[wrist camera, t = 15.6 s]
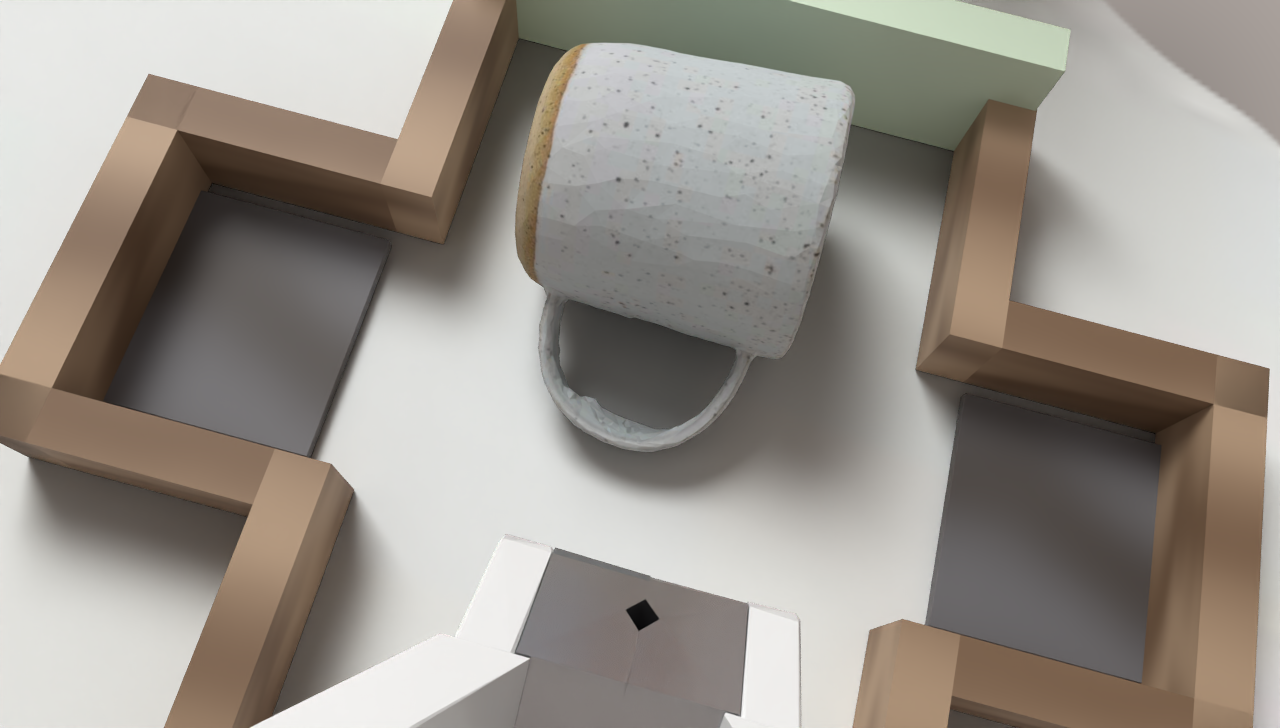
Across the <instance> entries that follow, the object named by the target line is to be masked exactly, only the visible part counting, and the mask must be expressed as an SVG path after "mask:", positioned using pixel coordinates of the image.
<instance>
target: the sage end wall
mask: <svg viewBox="0 0 1280 728" xmlns="http://www.w3.org/2000/svg"><path fill="white" fill-rule="evenodd" d="M516 6H517V20H518V33H519V38H520V39H524V40H528V41H532V42H536V43H540V44H543V45H547V46H551V47H555V48H559V49H563V50H567V51H569V50H571V49H572V48H574V47H575V46H578V45H581V44H588V43H631V44H639V45H645V46H650V47H656V48H661V49H666V50H671V51H674V52H678V53H682V54H688V55H693V56H698V57H704V58H710V59H716V60H722V61H728V62H735V63H742V64H747V65H752V66H757V67H763V68H768V69H773V70H778V71H783V72H789V73H794V74H799V75H805V76H810V77H817V78H824V79H830V80H837V81H841V82H843V83H845V84H846V85H848V86H850V87H851V89H852V90H853V92H854V95H855V107H854V112H853V117H852V122H851V125H855V126H859V127H863V128H867V129H871V130H875V131H878V132H882V133H886V134H890V135H894V136H898V137H902V138H905V139H909V140H913V141H917V142H921V143H925V144H929V145H932V146H936V147H940V148H944V149H948V150H952V151H954V150H955V149H956V147H957V146H958V144H959V143H960V141H961V140H962V138H963V137H964V135H965V134H966V132H967V131H968V129H969V128H970V126H971V125H972V123H973V122H974V120H975V119H976V117H977V116H978V114H979V113H980V111H981V110H982V108H983V107H984V105H985V104H986V102H987V101H988V99H991V100H995V101H999V102H1002V103H1006V104H1010V105H1014V106H1018V107H1022V108H1026V109H1030V110H1033V111H1036V109H1037V108H1038V107H1039V105H1040V104H1041V103H1042V101H1043V100H1044V99H1045V97H1046V96H1047V95H1048V93H1049V92H1050V91H1051V89H1052V88H1053V87H1054V85H1055V84H1056V83H1057V81H1058V80H1059V79H1060V77H1061V76H1062V75H1063V73H1064V72H1065V68H1066V61H1067V54H1068V46H1069V39H1070V32H1071V30H1070V29H1066V28H1063V27H1059V26H1055V25H1051V24H1047V23H1043V22H1039V21H1035V20H1031V19H1027V18H1023V17H1020V16H1016V15H1012V14H1008V13H1004V12H1000V11H996V10H992V9H988V8H984V7H980V6H977V5H973V4H969V3H965V2H961V1H957V0H516Z"/></svg>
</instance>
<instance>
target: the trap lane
mask: <svg viewBox="0 0 1280 728" xmlns="http://www.w3.org/2000/svg"><path fill="white" fill-rule="evenodd" d="M518 39H519V33H518V20H517V6H516V0H453V2H452V5H451V7H450V10H449V12H448V15H447V17H446V20H445V22H444V25H443V27H442V30H441V33H440V35H439V38H438V40H437V43H436V45H435V48H434V50H433V53H432V55H431V58H430V60H429V63H428V65H427V68H426V70H425V73H424V75H423V78H422V80H421V83H420V85H419V88H418V90H417V93H416V95H415V98H414V100H413V103H412V105H411V108H410V110H409V113H408V115H407V118H406V120H405V123H404V126H403V128H402V131H401V133H400V136H399V138H398V139H394V138H391V137H387V136H383V135H379V134H375V133H372V132H368V131H364V130H360V129H356V128H353V127H349V126H345V125H341V124H337V123H334V122H330V121H326V120H322V119H318V118H315V117H311V116H307V115H303V114H299V113H296V112H292V111H288V110H284V109H280V108H277V107H273V106H269V105H265V104H261V103H258V102H254V101H250V100H246V99H242V98H238V97H235V96H231V95H227V94H223V93H219V92H216V91H212V90H208V89H204V88H200V87H197V86H193V85H189V84H185V83H181V82H178V81H174V80H170V79H166V78H162V77H159V76H155V75H151V74H148V76H147V78H146V80H145V82H144V84H143V86H142V88H141V90H140V92H139V94H138V96H137V98H136V100H135V102H134V104H133V106H132V108H131V110H130V112H129V114H128V116H127V117H126V119H125V121H124V123H123V125H122V127H121V129H120V131H119V133H118V135H117V137H116V139H115V141H114V143H113V145H112V147H111V149H110V151H109V153H108V155H107V157H106V159H105V161H104V163H103V165H102V166H101V168H100V170H99V172H98V174H97V176H96V178H95V180H94V182H93V184H92V186H91V188H90V190H89V192H88V194H87V196H86V198H85V200H84V202H83V204H82V206H81V208H80V210H79V212H78V214H77V215H76V217H75V219H74V221H73V223H72V225H71V227H70V229H69V231H68V233H67V235H66V237H65V239H64V241H63V243H62V245H61V247H60V249H59V251H58V253H57V255H56V257H55V259H54V261H53V263H52V264H51V266H50V268H49V270H48V272H47V274H46V276H45V278H44V280H43V282H42V284H41V286H40V288H39V290H38V292H37V294H36V296H35V298H34V300H33V302H32V304H31V306H30V308H29V310H28V312H27V313H26V315H25V317H24V319H23V321H22V323H21V325H20V327H19V329H18V331H17V333H16V335H15V337H14V339H13V341H12V343H11V345H10V347H9V349H8V351H7V353H6V355H5V357H4V359H3V360H2V362H1V364H0V443H1V444H3V445H5V446H7V447H9V448H11V449H13V450H15V451H17V452H19V453H21V454H23V455H25V456H27V457H31V458H34V459H38V460H42V461H45V462H49V463H53V464H56V465H60V466H64V467H67V468H71V469H74V470H78V471H82V472H85V473H89V474H93V475H96V476H100V477H104V478H107V479H111V480H115V481H118V482H122V483H126V484H129V485H133V486H137V487H140V488H144V489H148V490H151V491H155V492H159V493H162V494H166V495H169V496H173V497H177V498H180V499H184V500H188V501H191V502H195V503H199V504H202V505H206V506H210V507H213V508H217V509H221V510H224V511H228V512H232V513H235V514H239V515H243V516H246V517H248V518H247V520H246V523H245V525H244V528H243V530H242V533H241V535H240V538H239V540H238V543H237V545H236V548H235V550H234V553H233V555H232V558H231V560H230V563H229V565H228V568H227V570H226V573H225V575H224V578H223V580H222V583H221V585H220V588H219V590H218V593H217V596H216V598H215V601H214V603H213V606H212V608H211V611H210V613H209V616H208V618H207V621H206V623H205V626H204V628H203V631H202V633H201V636H200V638H199V641H198V643H197V646H196V648H195V651H194V653H193V656H192V658H191V661H190V663H189V666H188V668H187V671H186V673H185V676H184V678H183V681H182V683H181V686H180V689H179V691H178V694H177V696H176V699H175V701H174V704H173V706H172V709H171V711H170V714H169V716H168V719H167V721H166V724H165V726H164V728H250V727H252V726H254V725H256V724H258V723H260V722H262V721H264V720H266V719H268V718H270V717H272V714H273V711H274V709H275V706H276V703H277V700H278V698H279V695H280V692H281V689H282V687H283V684H284V681H285V678H286V676H287V673H288V670H289V667H290V665H291V662H292V659H293V656H294V654H295V651H296V648H297V645H298V643H299V640H300V637H301V634H302V632H303V629H304V626H305V623H306V621H307V618H308V615H309V612H310V610H311V607H312V604H313V602H314V599H315V596H316V593H317V591H318V588H319V585H320V582H321V580H322V577H323V574H324V571H325V569H326V566H327V563H328V560H329V558H330V555H331V552H332V549H333V547H334V544H335V541H336V538H337V536H338V533H339V530H340V527H341V525H342V522H343V519H344V516H345V514H346V511H347V508H348V505H349V503H350V500H351V497H352V495H353V492H354V489H353V488H352V487H351V486H350V484H349V483H348V482H347V481H346V480H345V479H344V478H343V477H342V475H341V474H340V473H339V472H338V471H337V470H336V469H335V468H334V466H333V465H332V464H330V463H326V462H322V461H319V460H315V459H311V458H310V457H311V455H312V452H313V450H314V447H315V444H316V442H317V439H318V437H319V434H320V431H321V429H322V426H323V424H324V421H325V418H326V416H327V413H328V411H329V408H330V405H331V403H332V400H333V398H334V395H335V392H336V390H337V387H338V385H339V382H340V379H341V377H342V374H343V372H344V369H345V366H346V364H347V361H348V359H349V356H350V353H351V351H352V348H353V346H354V343H355V340H356V338H357V335H358V332H359V330H360V327H361V325H362V322H363V319H364V317H365V314H366V312H367V309H368V306H369V304H370V301H371V299H372V296H373V293H374V291H375V288H376V286H377V283H378V280H379V278H380V275H381V273H382V270H383V267H384V265H385V262H386V260H387V257H388V254H389V252H390V249H391V247H392V246H391V243H390V240H386V239H383V238H379V237H375V236H371V235H368V234H364V233H360V232H356V231H353V230H349V229H345V228H341V227H338V226H334V225H330V224H326V223H322V222H319V221H315V220H311V219H307V218H304V217H300V216H296V215H292V214H289V213H285V212H281V211H277V210H274V209H270V208H266V207H262V206H259V205H255V204H251V203H247V202H243V201H240V200H236V199H232V198H228V197H225V196H221V195H217V194H213V193H210V192H208V190H209V188H210V186H211V184H212V183H214V184H218V185H221V186H225V187H229V188H233V189H236V190H240V191H244V192H248V193H252V194H255V195H259V196H263V197H267V198H270V199H274V200H278V201H282V202H285V203H289V204H293V205H297V206H301V207H304V208H308V209H312V210H316V211H319V212H323V213H327V214H331V215H334V216H338V217H342V218H346V219H349V220H353V221H357V222H361V223H365V224H368V225H372V226H376V227H380V228H383V229H387V230H391V231H395V232H398V233H402V234H406V235H410V236H414V237H417V238H421V239H425V240H429V241H432V242H436V243H440V244H444V242H445V239H446V237H447V234H448V231H449V228H450V226H451V223H452V220H453V217H454V215H455V212H456V209H457V206H458V204H459V201H460V198H461V195H462V193H463V190H464V187H465V184H466V182H467V179H468V176H469V173H470V171H471V168H472V165H473V163H474V160H475V157H476V154H477V152H478V149H479V146H480V143H481V141H482V138H483V135H484V132H485V130H486V127H487V124H488V121H489V119H490V116H491V113H492V110H493V108H494V105H495V102H496V99H497V97H498V94H499V91H500V88H501V86H502V83H503V80H504V77H505V75H506V72H507V69H508V66H509V64H510V61H511V58H512V56H513V53H514V50H515V47H516V45H517V42H518ZM1036 113H1037V109H1036V111H1033V110H1030V109H1026V108H1022V107H1018V106H1014V105H1010V104H1006V103H1002V102H999V101H995V100H991V99H988V101H987V102H986V104H985V105H984V107H983V108H982V110H981V111H980V113H979V114H978V116H977V117H976V119H975V120H974V122H973V123H972V125H971V126H970V128H969V129H968V131H967V132H966V134H965V135H964V137H963V138H962V140H961V141H960V143H959V144H958V146H957V147H956V149H955V150H954V154H953V159H952V165H951V171H950V177H949V182H948V188H947V194H946V199H945V205H944V211H943V216H942V222H941V228H940V233H939V239H938V245H937V250H936V256H935V262H934V267H933V273H932V279H931V285H930V290H929V296H928V302H927V307H926V313H925V319H924V324H923V330H922V336H921V341H920V347H919V353H918V358H917V364H916V370H918V371H922V372H926V373H930V374H934V375H937V376H941V377H945V378H949V379H952V380H956V381H960V382H964V383H967V384H971V385H975V386H979V387H982V388H986V389H990V390H994V391H998V392H1001V393H1005V394H1009V395H1013V396H1016V397H1020V398H1024V399H1028V400H1031V401H1035V402H1039V403H1043V404H1047V405H1050V406H1054V407H1058V408H1062V409H1065V410H1069V411H1073V412H1077V413H1080V414H1084V415H1088V416H1092V417H1096V418H1099V419H1103V420H1107V421H1111V422H1114V423H1118V424H1122V425H1126V426H1129V427H1133V428H1137V429H1141V430H1145V431H1148V432H1152V433H1156V436H1155V444H1154V443H1151V442H1147V441H1143V440H1139V439H1136V438H1132V437H1128V436H1124V435H1121V434H1117V433H1113V432H1109V431H1105V430H1102V429H1098V428H1094V427H1090V426H1087V425H1083V424H1079V423H1075V422H1072V421H1068V420H1064V419H1060V418H1057V417H1053V416H1049V415H1045V414H1041V413H1038V412H1034V411H1030V410H1026V409H1023V408H1019V407H1015V406H1011V405H1008V404H1004V403H1000V402H996V401H993V400H989V399H985V398H981V397H977V396H974V395H970V394H964V395H963V396H962V397H961V400H960V407H959V413H958V419H957V426H956V432H955V438H954V445H953V451H952V457H951V464H950V470H949V476H948V483H947V489H946V495H945V502H944V508H943V514H942V521H941V527H940V533H939V540H938V546H937V552H936V559H935V565H934V571H933V578H932V584H931V591H930V597H929V603H928V610H927V616H926V622H925V625H922V624H919V623H915V622H911V621H907V620H904V619H901V620H898V621H895V622H892V623H889V624H886V625H883V626H880V627H877V628H874V629H872V630H870V631H869V637H868V643H867V648H866V654H865V660H864V665H863V671H862V677H861V682H860V688H859V694H858V700H857V705H856V711H855V717H854V722H853V728H947V725H948V718H949V711H950V709H951V710H955V711H959V712H962V713H966V714H970V715H973V716H977V717H981V718H984V719H988V720H992V721H995V722H999V723H1003V724H1006V725H1010V726H1014V727H1017V728H1253V711H1254V690H1255V669H1256V647H1257V626H1258V605H1259V583H1260V562H1261V541H1262V519H1263V498H1264V477H1265V455H1266V434H1267V413H1268V391H1269V370H1270V369H1269V368H1265V367H1261V366H1257V365H1254V364H1250V363H1246V362H1242V361H1238V360H1235V359H1231V358H1227V357H1223V356H1219V355H1216V354H1212V353H1208V352H1204V351H1200V350H1197V349H1193V348H1189V347H1185V346H1181V345H1178V344H1174V343H1170V342H1166V341H1162V340H1159V339H1155V338H1151V337H1147V336H1143V335H1140V334H1136V333H1132V332H1128V331H1124V330H1121V329H1117V328H1113V327H1109V326H1105V325H1101V324H1098V323H1094V322H1090V321H1086V320H1082V319H1079V318H1075V317H1071V316H1067V315H1063V314H1060V313H1056V312H1052V311H1048V310H1044V309H1041V308H1037V307H1033V306H1029V305H1025V304H1022V303H1018V302H1014V301H1010V300H1009V298H1010V291H1011V285H1012V278H1013V271H1014V264H1015V257H1016V250H1017V243H1018V236H1019V230H1020V223H1021V216H1022V209H1023V202H1024V195H1025V188H1026V181H1027V175H1028V168H1029V161H1030V154H1031V147H1032V140H1033V133H1034V126H1035V120H1036Z"/></svg>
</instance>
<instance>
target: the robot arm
mask: <svg viewBox="0 0 1280 728" xmlns="http://www.w3.org/2000/svg"><path fill="white" fill-rule="evenodd" d="M250 728H801V637H800V619H799V618H798V616H797V614H796V613H792V612H788V611H783V610H779V609H775V608H771V607H767V606H763V605H759V604H755V603H751V602H747V603H744V602H740V601H736V600H733V599H729V598H725V597H722V596H718V595H714V594H711V593H707V592H703V591H700V590H696V589H692V588H689V587H685V586H681V585H678V584H674V583H670V582H666V581H663V580H659V579H655V578H652V577H650V576H648V575H645V574H641V573H638V572H635V571H631V570H628V569H625V568H621V567H618V566H615V565H611V564H608V563H605V562H601V561H598V560H595V559H591V558H588V557H585V556H582V555H578V554H575V553H572V552H568V551H565V550H562V549H558V548H555V549H554V550H553V548H552V547H551V546H547V545H544V544H540V543H537V542H533V541H530V540H526V539H523V538H519V537H515V536H512V535H508V534H505V535H504V536H503V537H502V538H501V539H500V540H499V542H498V544H497V546H496V549H495V551H494V553H493V555H492V557H491V559H490V561H489V564H488V566H487V568H486V570H485V572H484V574H483V577H482V579H481V581H480V583H479V585H478V587H477V589H476V592H475V594H474V596H473V598H472V600H471V602H470V605H469V607H468V609H467V611H466V613H465V615H464V618H463V620H462V622H461V624H460V626H459V628H458V630H457V633H456V635H455V637H453V636H449V635H445V634H442V633H439V634H437V635H435V636H433V637H431V638H429V639H427V640H425V641H423V642H421V643H419V644H417V645H415V646H413V647H411V648H409V649H407V650H405V651H403V652H401V653H399V654H397V655H395V656H393V657H391V658H389V659H387V660H385V661H383V662H381V663H379V664H377V665H375V666H373V667H371V668H369V669H367V670H365V671H363V672H361V673H359V674H357V675H355V676H353V677H351V678H349V679H347V680H344V681H342V682H340V683H338V684H336V685H334V686H332V687H330V688H328V689H326V690H324V691H322V692H320V693H318V694H316V695H314V696H312V697H310V698H308V699H306V700H304V701H302V702H300V703H298V704H296V705H294V706H292V707H290V708H288V709H286V710H284V711H282V712H280V713H278V714H276V715H274V716H272V717H270V718H268V719H266V720H264V721H262V722H260V723H258V724H256V725H254V726H252V727H250Z"/></svg>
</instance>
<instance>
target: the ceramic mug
mask: <svg viewBox="0 0 1280 728" xmlns="http://www.w3.org/2000/svg"><path fill="white" fill-rule="evenodd" d="M854 107H855V95H854V92H853V90H852V89H851V87H850V86H848V85H846V84H845V83H843V82H841V81H837V80H830V79H824V78H817V77H810V76H805V75H799V74H794V73H789V72H783V71H778V70H773V69H768V68H763V67H757V66H752V65H747V64H742V63H735V62H728V61H722V60H716V59H710V58H704V57H698V56H693V55H688V54H682V53H678V52H674V51H671V50H666V49H661V48H656V47H650V46H645V45H639V44H631V43H588V44H581V45H578V46H575V47H574V48H572V49H571V50H569V51H568V52H566V53H565V54H564V55H563V56H562V57H561V59H560V60H559V61H558V62H557V63H556V64H555V66H554V67H553V69H552V71H551V73H550V74H549V77H548V79H547V81H546V84H545V86H544V88H543V91H542V94H541V96H540V99H539V101H538V104H537V108H536V112H535V115H534V119H533V122H532V126H531V130H530V134H529V138H528V143H527V147H526V151H525V155H524V160H523V166H522V172H521V178H520V184H519V191H518V198H517V207H516V218H515V237H516V247H517V254H518V258H519V260H520V261H521V263H522V265H523V267H524V269H525V271H526V273H527V274H528V275H529V277H530V278H531V279H532V280H534V281H535V282H536V283H538V284H539V285H541V286H542V287H544V289H545V292H546V295H547V300H546V303H545V305H544V308H543V313H542V318H541V321H540V325H539V334H540V337H539V346H538V349H539V356H540V363H541V371H542V376H543V379H544V382H545V384H546V386H547V389H548V391H549V392H550V394H551V396H552V398H553V400H554V402H555V404H556V405H557V407H558V408H559V409H560V410H561V412H562V413H563V414H564V415H565V416H566V417H567V418H568V419H569V420H570V422H571V423H572V424H573V425H575V426H576V427H578V428H580V429H581V430H583V431H584V432H585V433H587V434H589V435H591V436H593V437H595V438H597V439H599V440H600V441H602V442H605V443H608V444H610V445H613V446H616V447H619V448H622V449H626V450H633V451H640V452H655V451H659V450H663V449H667V448H671V447H676V446H678V445H680V444H682V443H683V442H685V441H687V440H689V439H691V438H693V437H694V436H696V435H698V434H699V433H700V432H702V431H703V430H705V429H706V428H707V427H708V426H709V425H710V424H711V423H713V422H714V421H715V420H716V418H717V417H718V416H719V415H720V414H721V413H722V412H723V411H724V410H725V408H726V407H727V406H728V404H729V403H730V401H731V400H732V399H733V397H734V396H735V394H736V392H737V390H738V388H739V386H740V385H741V383H742V381H743V379H744V377H745V375H746V372H747V370H748V368H749V365H750V363H751V361H752V360H753V359H754V358H755V357H756V356H760V357H765V358H770V359H780V358H782V357H783V356H784V355H785V354H786V353H787V351H788V350H789V348H790V347H791V345H792V343H793V341H794V339H795V336H796V333H797V331H798V328H799V326H800V323H801V320H802V317H803V313H804V310H805V307H806V304H807V301H808V299H809V296H810V292H811V288H812V284H813V282H814V278H815V274H816V270H817V267H818V264H819V260H820V257H821V254H822V249H823V245H824V241H825V237H826V234H827V230H828V227H829V223H830V219H831V215H832V211H833V206H834V203H835V200H836V196H837V192H838V186H839V182H840V178H841V172H842V167H843V163H844V160H845V152H846V149H847V145H848V137H849V132H850V127H851V122H852V117H853V112H854ZM568 300H574V301H577V302H580V303H583V304H587V305H591V306H593V307H595V308H598V309H603V310H606V311H610V312H613V313H616V314H619V315H622V316H625V317H627V318H634V317H635V318H639V319H642V320H645V321H648V322H652V323H656V324H659V325H661V326H664V327H667V328H670V329H672V330H675V331H678V332H680V333H683V334H686V335H689V336H693V337H698V338H700V339H703V340H707V341H711V342H715V343H718V344H720V345H725V346H728V347H731V348H733V349H735V350H736V359H735V361H734V364H733V366H732V368H731V370H730V372H729V374H728V376H727V378H726V379H725V381H724V383H723V385H722V386H721V388H720V389H719V391H718V392H717V394H716V395H715V397H714V398H713V399H712V401H711V402H710V403H709V404H708V405H707V407H706V408H705V409H704V410H703V411H702V412H701V413H700V414H698V415H697V416H696V417H694V418H692V419H690V420H688V421H687V422H685V423H684V424H682V425H680V426H675V427H673V428H672V429H653V428H651V427H648V426H646V425H643V424H640V423H637V422H634V421H631V420H628V419H625V418H623V417H621V416H618V415H616V414H614V413H612V412H610V411H608V410H606V409H604V408H602V407H601V406H600V405H599V403H598V402H597V401H596V399H595V398H591V397H587V396H583V397H580V396H579V395H578V394H577V393H575V392H574V391H573V390H572V389H570V388H569V387H568V384H567V381H566V378H565V375H564V373H563V371H562V368H561V366H560V360H559V353H560V348H559V333H560V321H561V317H562V313H563V309H564V305H565V303H566V302H567V301H568Z"/></svg>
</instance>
